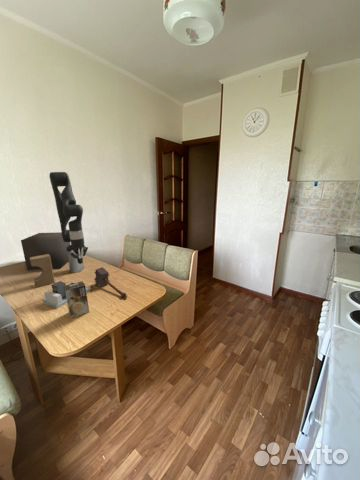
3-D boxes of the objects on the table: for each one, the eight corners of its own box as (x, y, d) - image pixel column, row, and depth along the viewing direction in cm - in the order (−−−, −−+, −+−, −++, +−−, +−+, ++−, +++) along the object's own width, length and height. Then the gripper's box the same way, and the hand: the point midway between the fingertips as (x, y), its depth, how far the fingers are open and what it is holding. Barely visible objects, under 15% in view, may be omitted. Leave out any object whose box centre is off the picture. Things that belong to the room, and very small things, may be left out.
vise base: (77, 285, 136) (76, 276, 134) (90, 289, 131) (89, 280, 129) (43, 303, 115) (41, 293, 114) (57, 308, 111) (55, 297, 109)
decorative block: (35, 287, 133) (29, 259, 127) (34, 284, 137) (29, 257, 132) (55, 282, 140) (50, 255, 134) (53, 280, 144) (48, 253, 139)
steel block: (61, 294, 122) (59, 281, 119) (67, 296, 120) (65, 282, 117) (54, 298, 117) (51, 284, 115) (59, 300, 115) (57, 286, 113)
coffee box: (86, 306, 112) (83, 280, 108) (89, 312, 107) (85, 285, 103) (68, 312, 107) (64, 285, 103) (70, 318, 102) (65, 290, 98)
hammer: (103, 278, 143) (103, 266, 139) (130, 303, 125) (131, 289, 121) (94, 281, 138) (93, 269, 134) (121, 307, 120) (122, 294, 116)
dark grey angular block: (44, 259, 185) (39, 232, 178) (72, 258, 187) (68, 232, 181) (27, 270, 161) (20, 240, 154) (60, 268, 163) (55, 239, 157)
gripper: (71, 240, 116) (75, 268, 121) (89, 235, 128) (93, 260, 133) (62, 239, 119) (67, 266, 124) (81, 234, 131) (84, 258, 136)
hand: (80, 263), depth 129 cm, fingers closed
